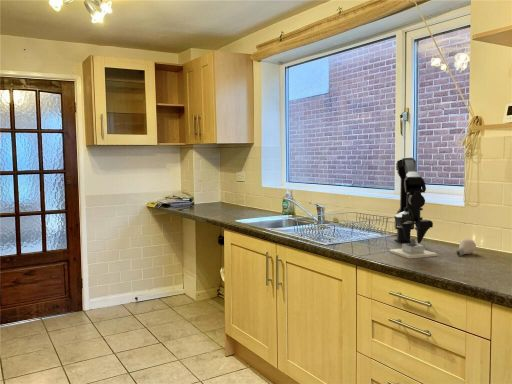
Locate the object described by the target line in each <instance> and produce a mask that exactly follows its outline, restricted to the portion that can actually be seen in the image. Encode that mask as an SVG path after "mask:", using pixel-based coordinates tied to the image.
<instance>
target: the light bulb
mask: <svg viewBox="0 0 512 384" xmlns="http://www.w3.org/2000/svg"><path fill="white" fill-rule="evenodd" d="M476 250H477V244H476V243H475V241H474V240H473V239H470V238H464V239H462V240H461V241H460V242H459V247H458V249H457V250H456V251H455V254H456V255H457V256H458V257H461V256H463V255H471V254H473V253H475V252H476Z"/></svg>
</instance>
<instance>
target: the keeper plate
mask: <svg viewBox="0 0 512 384" xmlns="http://www.w3.org/2000/svg"><path fill="white" fill-rule="evenodd" d="M410 240H411V242H410V243H411V246H415V243H416V238H410ZM388 252H389V253H392V254H394V255H397V256H400V257H403V258H406V259H419V258H420V259H421V258H429V257H430V258H431V257H437V256H438V253H437V252H433V251H430V250H427V249H424V253H413V254H411V253H408V252H405V251H402V248H394V249H389V251H388Z"/></svg>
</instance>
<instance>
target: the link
mask: <svg viewBox="0 0 512 384" xmlns="http://www.w3.org/2000/svg"><path fill="white" fill-rule="evenodd" d="M401 249H402V251H405V252H408V253H411V254H413V253H424V250H425V245H424V244H421V243H418V242H415V246H411V242H406V243H402V244H401Z"/></svg>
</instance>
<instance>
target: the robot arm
mask: <svg viewBox="0 0 512 384" xmlns="http://www.w3.org/2000/svg"><path fill="white" fill-rule="evenodd" d="M395 165H396V166H395V170H396V171H397V175H398V177H399V178H400V191H399V192H400V196H399V197H400V198H399V200H400V201H399V209H398V210H397V212H396V214H394V215H393V218H394V224H393V227H394V230H396V238H395V239H394V241H396V242H398V243H402V244H404V243H411V231H413V230H415V231H416V241H417V244H421V242H423V238H424V237H425V235H426V234H427V232H428V230H430V229H431V228H433V227H434V222H433V221H432V220H430V219H423V216H421V211H423V210H424V208H423V207H424V206H425V203H426V199H425V197H424V196H423V195H422V193H424V194H425V193H426V190H427V185H426V182H425V179H424V178H423V176H422V174H421V173H418V172H417V160H416V159H415V157H413V156H411V157H406V156H405V157H402V159H399V160H397V162H396V164H395Z"/></svg>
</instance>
